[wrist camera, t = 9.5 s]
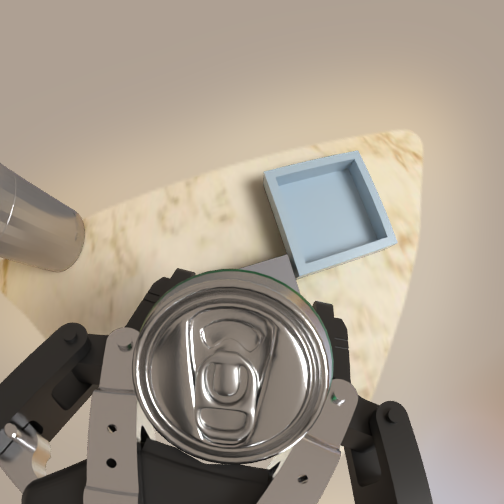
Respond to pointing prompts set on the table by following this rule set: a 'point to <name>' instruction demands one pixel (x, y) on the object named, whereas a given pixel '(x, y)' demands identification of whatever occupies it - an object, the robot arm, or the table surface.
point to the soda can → (232, 366)
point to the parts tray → (327, 212)
